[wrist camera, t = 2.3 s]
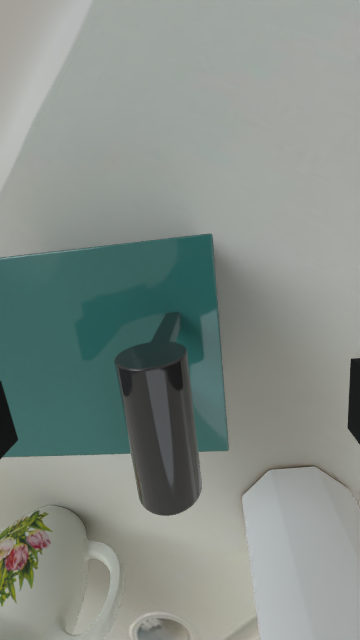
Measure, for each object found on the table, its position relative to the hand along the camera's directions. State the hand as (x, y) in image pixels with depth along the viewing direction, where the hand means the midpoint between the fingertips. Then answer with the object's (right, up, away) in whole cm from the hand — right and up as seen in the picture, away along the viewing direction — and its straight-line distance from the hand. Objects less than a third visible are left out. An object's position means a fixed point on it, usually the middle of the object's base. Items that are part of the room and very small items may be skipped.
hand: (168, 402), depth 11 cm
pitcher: (-13, -20, +23) cm, 33 cm away
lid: (-5, +1, +5) cm, 7 cm away
